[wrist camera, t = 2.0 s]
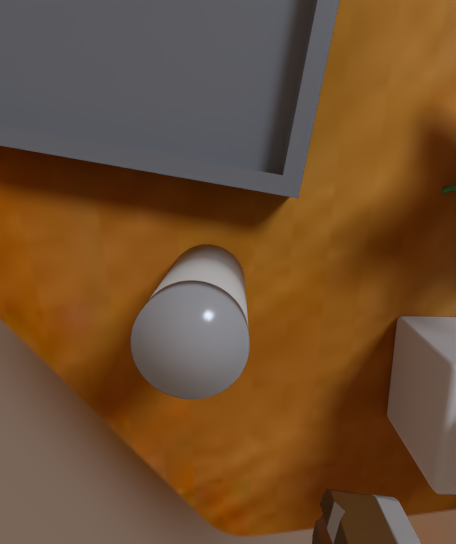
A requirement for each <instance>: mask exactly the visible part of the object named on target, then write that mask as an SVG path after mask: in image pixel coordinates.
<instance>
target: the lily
mask: <svg viewBox="0 0 456 544" xmlns="http://www.w3.org/2000/svg"><path fill="white" fill-rule="evenodd" d="M454 190H456V185H453V186H450V187H446V188H443V189H442V192H443V193H447V192H451V191H454Z"/></svg>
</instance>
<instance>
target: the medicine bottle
mask: <svg viewBox="0 0 456 544" xmlns="http://www.w3.org/2000/svg"><path fill="white" fill-rule="evenodd" d="M387 417H388V419H389V420H390V422H391V424H392V425H393V427H394V429H395V430H396V432H397V433H398V435H399V437H400V438H401V440H402V441H403V443H404V445H405V446H406V448H407V449H408V451H409V453H410V454H411V456H412V458H413V459H414V461H415V462H416V464H417V466H418V467H419V469H420V470H421V472H422V474H423V475H424V477H425V479H426V480H427V482H428V483H429V485H430V487H431V488H432V489H433V490H434V491H435V492H436V493H438V494H456V317H421V316H401V317H399V318H398V320H397V326H396V335H395V344H394V353H393V362H392V372H391V381H390V390H389V399H388V409H387Z"/></svg>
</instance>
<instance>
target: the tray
mask: <svg viewBox="0 0 456 544" xmlns="http://www.w3.org/2000/svg"><path fill="white" fill-rule="evenodd" d="M338 4H339V0H0V146H5V147H11V148H16V149H22V150H28V151H33V152H39V153H45V154H50V155H56V156H62V157H67V158H73V159H79V160H84V161H90V162H96V163H101V164H107V165H113V166H118V167H124V168H130V169H135V170H141V171H147V172H152V173H158V174H164V175H169V176H175V177H180V178H186V179H192V180H197V181H203V182H209V183H214V184H220V185H226V186H231V187H237V188H243V189H248V190H254V191H260V192H265V193H271V194H277V195H282V196H288V197H294V198H298V196H299V192H300V187H301V182H302V177H303V172H304V168H305V163H306V158H307V153H308V148H309V144H310V139H311V134H312V129H313V124H314V120H315V115H316V110H317V105H318V100H319V96H320V91H321V86H322V81H323V76H324V72H325V67H326V62H327V57H328V52H329V48H330V43H331V38H332V33H333V28H334V24H335V19H336V14H337V9H338Z"/></svg>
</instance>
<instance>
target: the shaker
mask: <svg viewBox="0 0 456 544" xmlns="http://www.w3.org/2000/svg"><path fill="white" fill-rule="evenodd" d="M131 352H132V356H133V359H134V362H135V364H136V366H137V368H138V370H139V372H140V373H141V374H142V376H143V377H144V378H145V379H146V380H147V381H148V382H149V383H150V384H151V385H152V386H153V387H155V388H156V389H158V390H159V391H161V392H163V393H165V394H167V395H170V396H173V397H177V398H181V399H202V398H207V397H210V396H213V395H216V394H218V393H220V392H222V391H224V390H225V389H226V388H228V387H229V386H231V385H232V384H233V383H234V382H235V381H236V379H237V378H238V377H239V376H240V374H241V373H242V371H243V369H244V367H245V365H246V362H247V359H248V355H249V332H248V318H247V305H246V291H245V278H244V272H243V269H242V267H241V264H240V263H239V261H238V260H237V259H236V257H235V256H234V255H233V254H232V253H230V252H229V251H228V250H226V249H224V248H222V247H219V246H215V245H209V244H208V245H198V246H195V247H192V248H190V249H188V250H186V251H185V252H184V253H182V254H181V255H180V256H179V257H178V259H177V260H176V262H175V263H174V264H173V266H172V267H171V269H170V270H169V272H168V273H167V274H166V276H165V277H164V279H163V280H162V282H161V283H160V285H159V286H158V287H157V289H156V290H155V292H154V293H153V295H152V296H151V297H150V299H149V300H148V302H147V303H146V305H145V306H144V307H143V309H142V310H141V312H140V313H139V315H138V316H137V318H136V320H135V322H134V325H133V328H132V333H131Z"/></svg>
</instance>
